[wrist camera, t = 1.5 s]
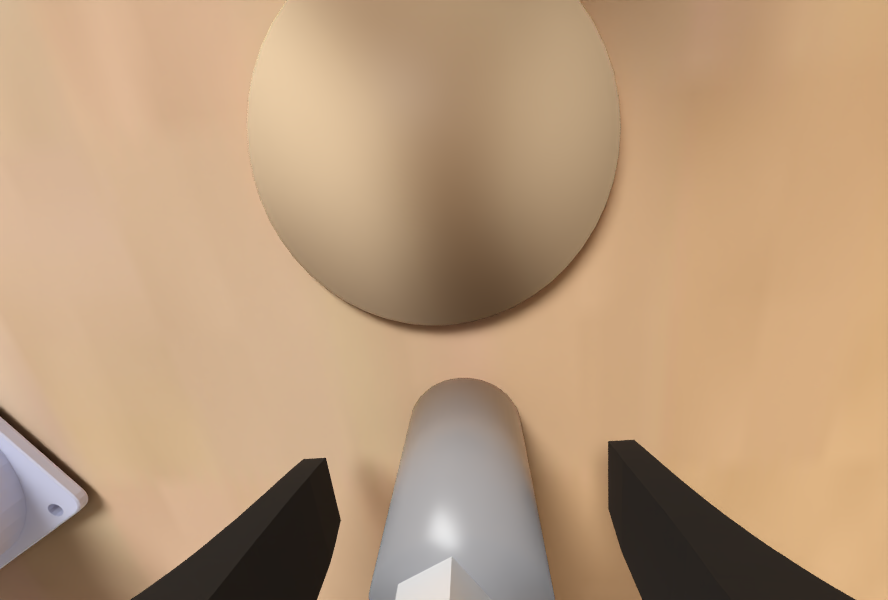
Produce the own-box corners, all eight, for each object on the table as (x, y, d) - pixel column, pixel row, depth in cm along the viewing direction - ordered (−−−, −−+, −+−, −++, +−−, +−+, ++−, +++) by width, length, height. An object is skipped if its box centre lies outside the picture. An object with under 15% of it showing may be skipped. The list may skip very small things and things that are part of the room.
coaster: (402, 376, 13) (399, 383, 12) (182, 114, 11) (171, 112, 10) (682, 190, 11) (691, 191, 10) (472, -175, 9) (472, -191, 8)
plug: (453, 490, 14) (438, 778, 7) (388, 415, 13) (307, 661, 7) (542, 439, 13) (613, 712, 7) (478, 357, 12) (486, 572, 6)
